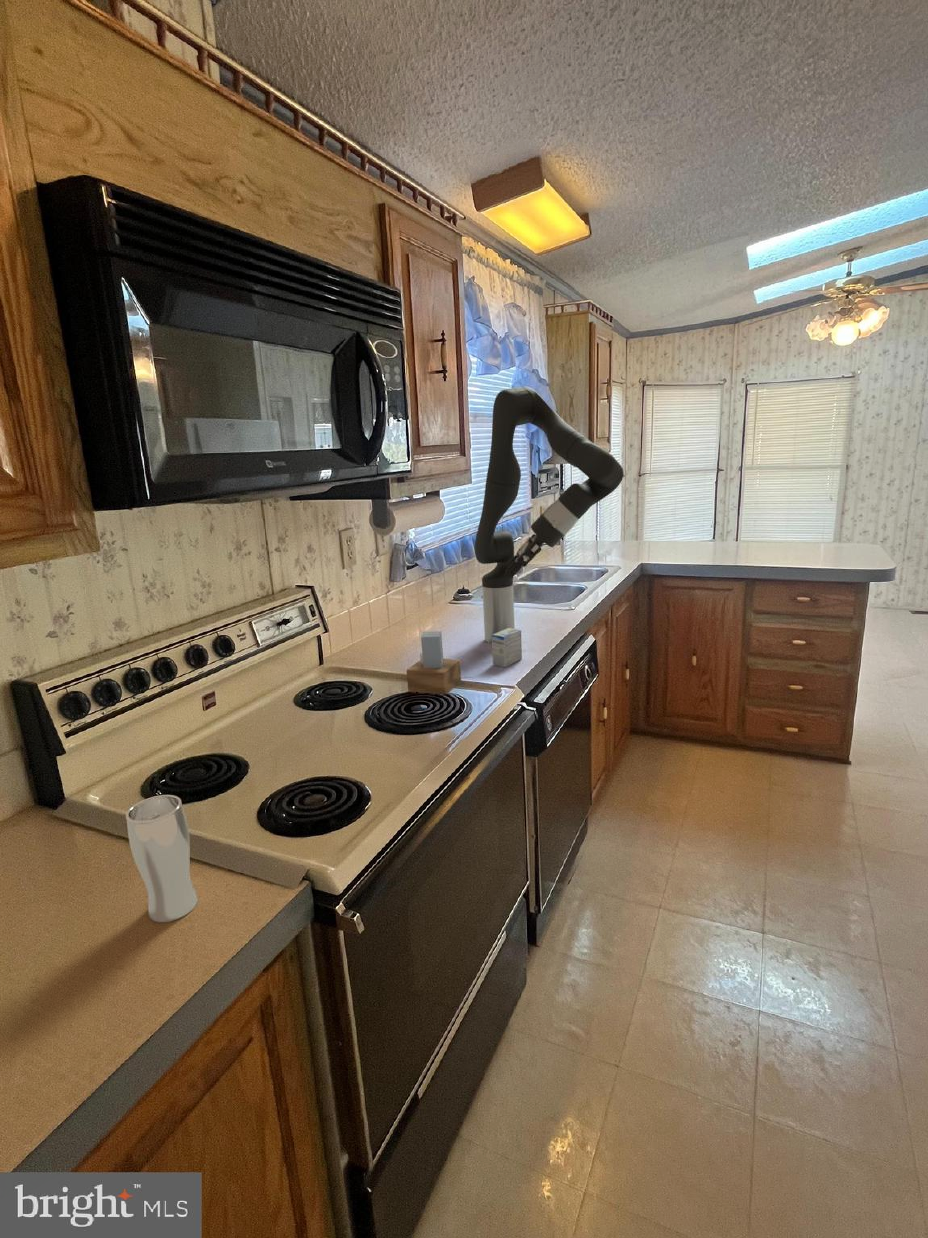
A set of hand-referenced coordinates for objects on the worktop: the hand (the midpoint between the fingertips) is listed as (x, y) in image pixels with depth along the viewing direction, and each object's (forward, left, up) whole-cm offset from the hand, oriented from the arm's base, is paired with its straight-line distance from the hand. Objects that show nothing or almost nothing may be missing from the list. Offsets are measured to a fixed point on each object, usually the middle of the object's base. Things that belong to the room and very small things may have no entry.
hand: (508, 571), depth 159 cm
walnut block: (+5, -19, -28) cm, 34 cm away
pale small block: (-6, -23, -28) cm, 36 cm away
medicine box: (-12, -2, -28) cm, 30 cm away
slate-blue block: (+6, -19, -22) cm, 30 cm away
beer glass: (+87, -44, -28) cm, 101 cm away
